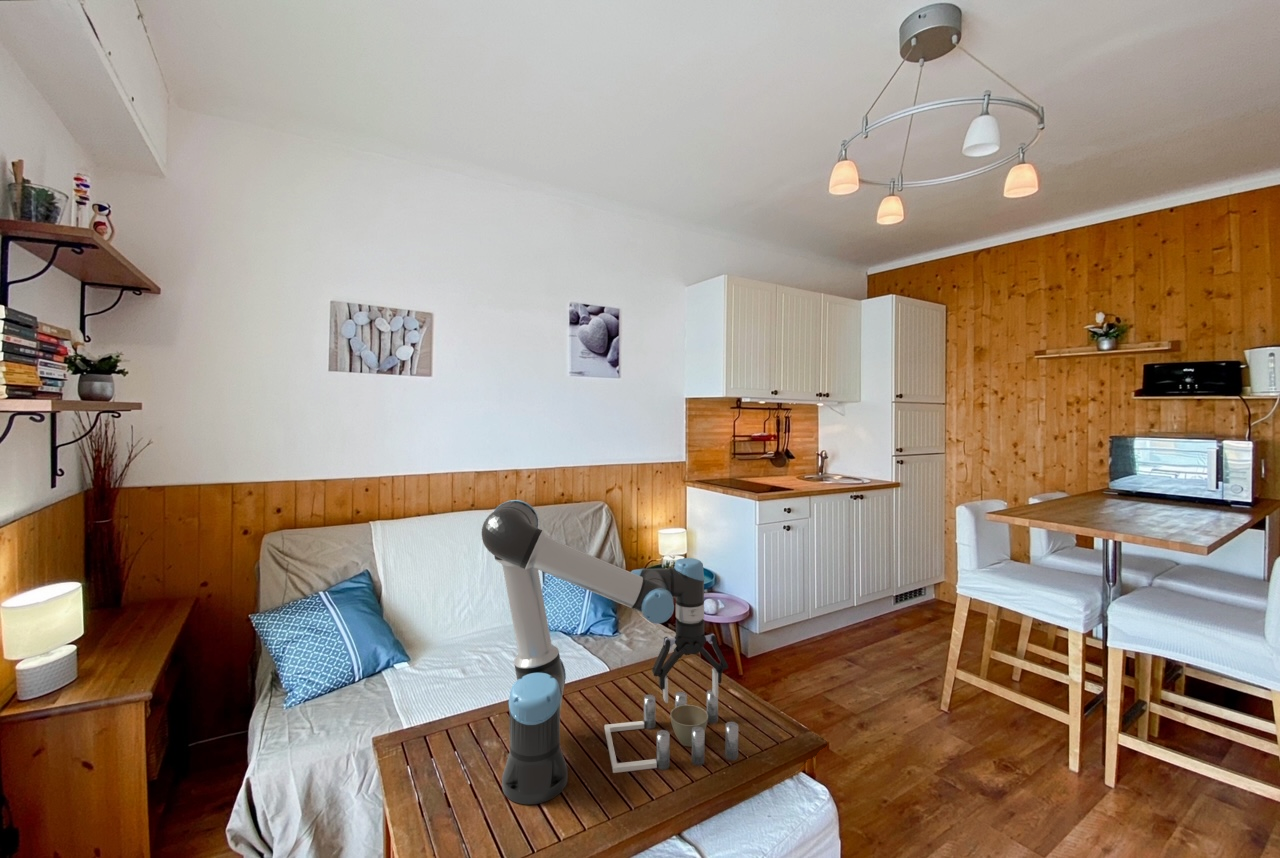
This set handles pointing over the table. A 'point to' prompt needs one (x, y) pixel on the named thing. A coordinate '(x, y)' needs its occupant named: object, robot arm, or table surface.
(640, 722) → the frame
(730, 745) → the spacers
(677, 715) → the flower pot
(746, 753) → the table surface
